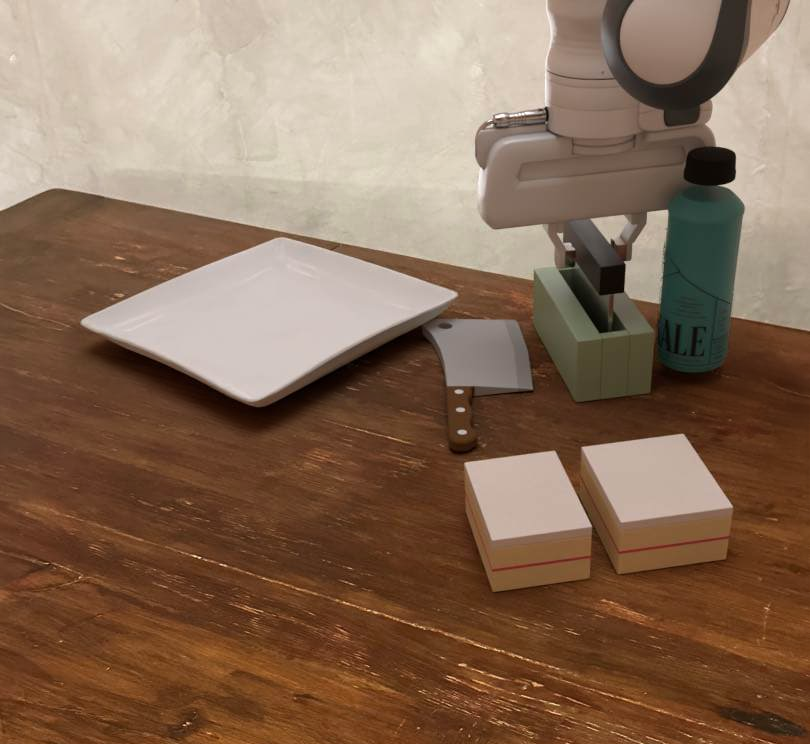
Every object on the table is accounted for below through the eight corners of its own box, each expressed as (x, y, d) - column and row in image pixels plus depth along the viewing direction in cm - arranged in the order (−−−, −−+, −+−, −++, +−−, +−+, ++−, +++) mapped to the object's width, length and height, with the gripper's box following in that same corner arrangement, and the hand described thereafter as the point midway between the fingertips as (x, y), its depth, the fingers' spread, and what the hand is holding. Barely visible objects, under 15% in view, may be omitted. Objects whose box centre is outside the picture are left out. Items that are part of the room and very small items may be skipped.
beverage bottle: (721, 354, 105) (748, 136, 93) (730, 389, 99) (759, 163, 87) (650, 354, 105) (667, 138, 93) (655, 389, 100) (674, 165, 88)
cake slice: (554, 500, 87) (555, 449, 85) (590, 579, 79) (592, 526, 77) (465, 512, 87) (463, 462, 84) (492, 593, 79) (491, 540, 76)
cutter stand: (599, 317, 112) (602, 260, 109) (650, 393, 100) (655, 331, 96) (532, 325, 112) (533, 268, 108) (575, 402, 99) (577, 341, 96)
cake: (678, 483, 88) (683, 432, 86) (726, 559, 80) (734, 506, 77) (578, 496, 88) (580, 446, 85) (617, 575, 80) (620, 522, 77)
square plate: (464, 325, 113) (463, 288, 110) (258, 438, 97) (251, 399, 95) (285, 261, 128) (280, 228, 126) (82, 351, 113) (73, 315, 111)
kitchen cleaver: (546, 441, 93) (425, 441, 93) (545, 451, 93) (425, 452, 93) (522, 315, 112) (422, 315, 112) (521, 324, 113) (422, 325, 113)
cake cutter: (582, 328, 111) (586, 213, 104) (618, 386, 101) (626, 264, 94) (560, 331, 110) (563, 216, 103) (595, 389, 101) (600, 267, 94)
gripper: (481, 127, 88) (485, 291, 97) (732, 100, 90) (714, 263, 98) (466, 105, 94) (471, 262, 102) (704, 79, 95) (689, 236, 103)
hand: (592, 262), depth 100 cm, fingers open, 4 cm apart
